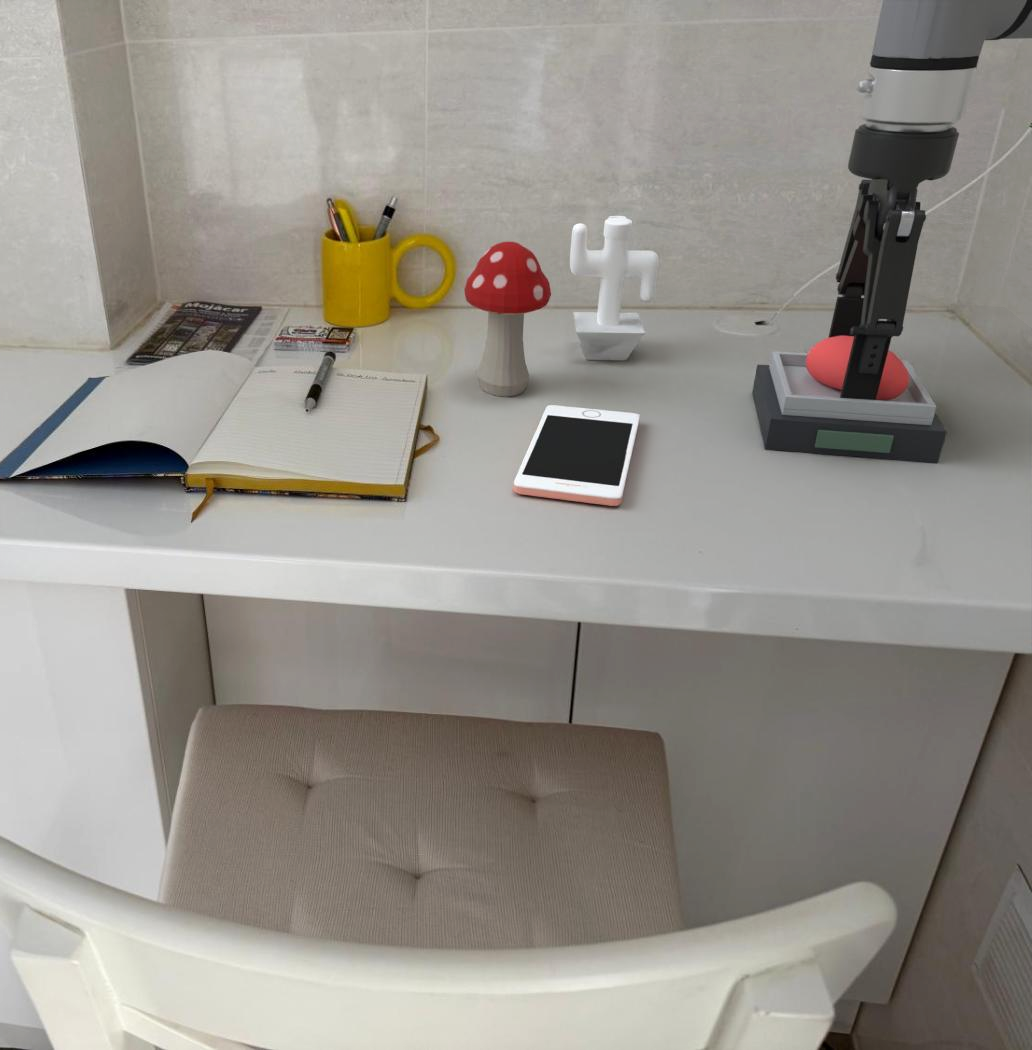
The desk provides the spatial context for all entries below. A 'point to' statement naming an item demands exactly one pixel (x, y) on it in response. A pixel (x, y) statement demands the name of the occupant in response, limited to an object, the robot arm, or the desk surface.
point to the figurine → (611, 289)
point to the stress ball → (832, 361)
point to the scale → (843, 416)
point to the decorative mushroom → (506, 312)
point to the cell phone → (579, 455)
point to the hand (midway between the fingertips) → (847, 383)
